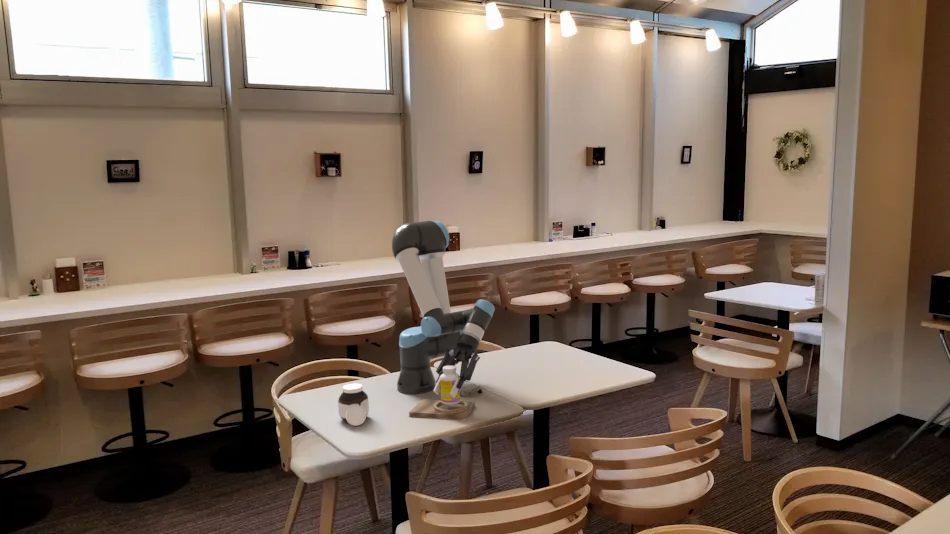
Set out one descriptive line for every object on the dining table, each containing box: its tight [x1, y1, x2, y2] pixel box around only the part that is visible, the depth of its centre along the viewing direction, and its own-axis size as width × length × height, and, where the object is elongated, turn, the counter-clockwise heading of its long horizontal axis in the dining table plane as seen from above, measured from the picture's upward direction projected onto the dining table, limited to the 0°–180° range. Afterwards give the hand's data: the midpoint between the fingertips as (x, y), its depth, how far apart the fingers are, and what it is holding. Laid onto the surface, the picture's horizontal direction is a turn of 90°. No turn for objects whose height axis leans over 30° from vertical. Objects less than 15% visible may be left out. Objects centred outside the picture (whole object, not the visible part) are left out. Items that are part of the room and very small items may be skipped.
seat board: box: [408, 398, 476, 420], centre depth 257 cm, size 20×14×2 cm
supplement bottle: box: [440, 365, 461, 405], centre depth 255 cm, size 7×7×13 cm
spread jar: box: [337, 383, 370, 427], centre depth 250 cm, size 12×11×12 cm
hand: (443, 394), depth 253 cm, fingers closed on supplement bottle, 7 cm apart
